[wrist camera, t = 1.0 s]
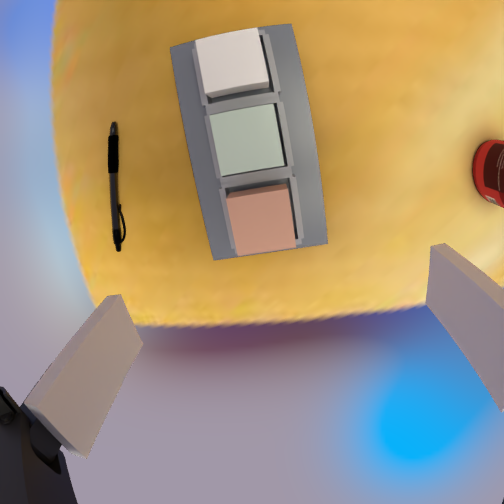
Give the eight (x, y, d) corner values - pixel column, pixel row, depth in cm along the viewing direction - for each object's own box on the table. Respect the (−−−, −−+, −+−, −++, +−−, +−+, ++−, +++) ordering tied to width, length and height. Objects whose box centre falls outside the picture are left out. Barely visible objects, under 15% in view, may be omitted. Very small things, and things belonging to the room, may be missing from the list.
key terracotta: (230, 192, 23) (225, 198, 20) (285, 183, 22) (287, 188, 20) (240, 244, 24) (237, 255, 22) (293, 236, 24) (296, 247, 22)
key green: (215, 117, 20) (209, 115, 18) (272, 107, 20) (273, 103, 18) (226, 172, 22) (221, 176, 20) (282, 162, 22) (284, 165, 19)
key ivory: (202, 49, 18) (195, 40, 16) (258, 38, 18) (257, 27, 15) (211, 98, 20) (204, 93, 18) (268, 87, 19) (268, 81, 17)
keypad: (174, 51, 21) (162, 41, 18) (290, 29, 20) (293, 15, 17) (216, 254, 29) (209, 269, 26) (324, 238, 28) (332, 251, 25)
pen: (128, 248, 30) (127, 253, 29) (114, 249, 30) (112, 253, 29) (125, 121, 25) (122, 120, 24) (109, 122, 24) (107, 122, 23)
